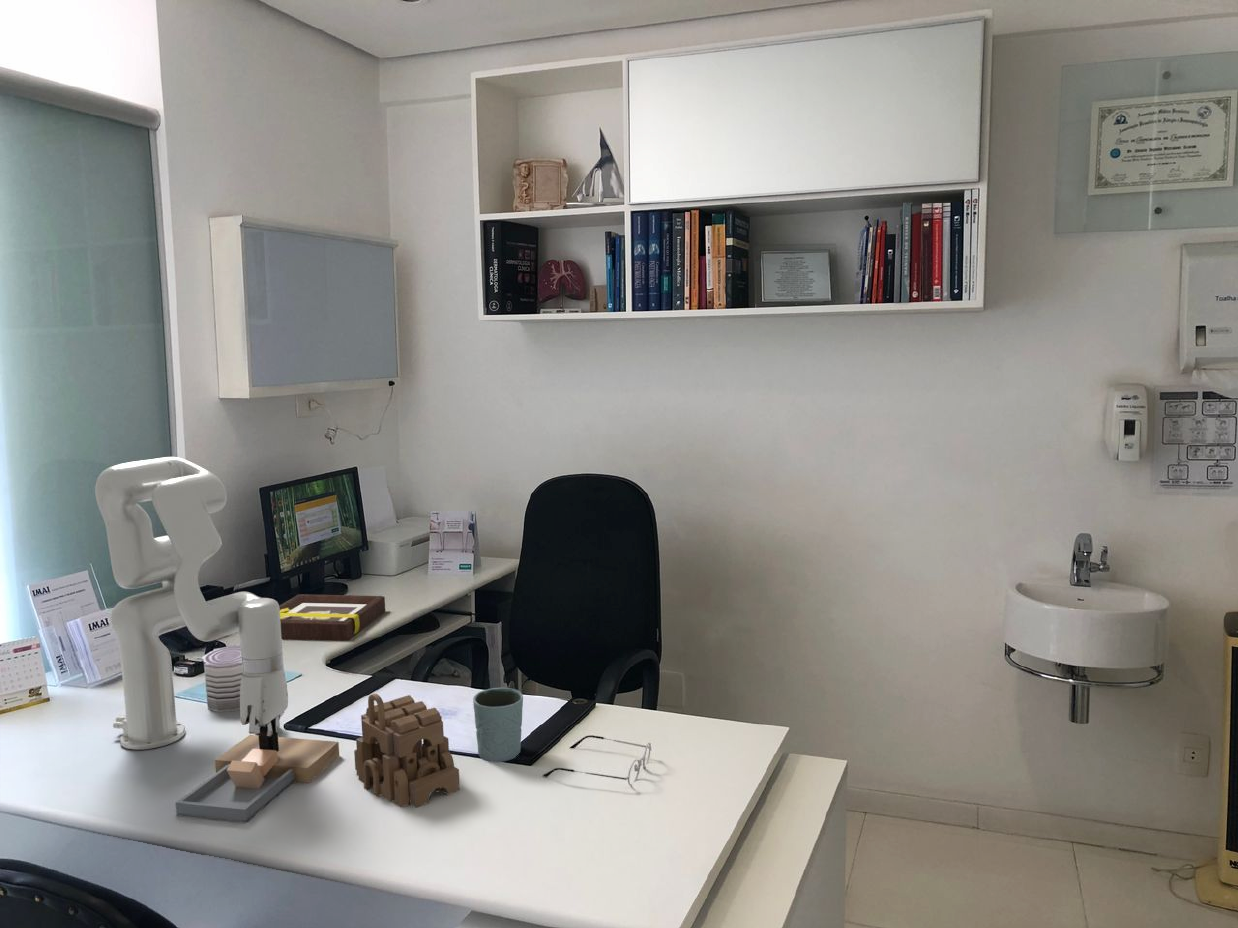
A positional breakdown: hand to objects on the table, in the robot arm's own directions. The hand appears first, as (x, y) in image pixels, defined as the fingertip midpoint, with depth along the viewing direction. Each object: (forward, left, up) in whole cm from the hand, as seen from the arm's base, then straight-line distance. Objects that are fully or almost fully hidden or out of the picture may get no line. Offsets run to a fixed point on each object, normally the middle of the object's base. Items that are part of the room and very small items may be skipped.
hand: (269, 752), depth 192 cm
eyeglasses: (+63, +13, -5) cm, 65 cm away
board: (0, +3, -4) cm, 5 cm away
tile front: (0, -7, 0) cm, 7 cm away
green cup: (+42, +16, -4) cm, 45 cm away
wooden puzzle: (+28, +1, -4) cm, 28 cm away
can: (-29, +31, -4) cm, 43 cm away
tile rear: (0, -4, -1) cm, 4 cm away
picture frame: (-39, +90, -5) cm, 98 cm away
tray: (0, -11, -4) cm, 12 cm away
